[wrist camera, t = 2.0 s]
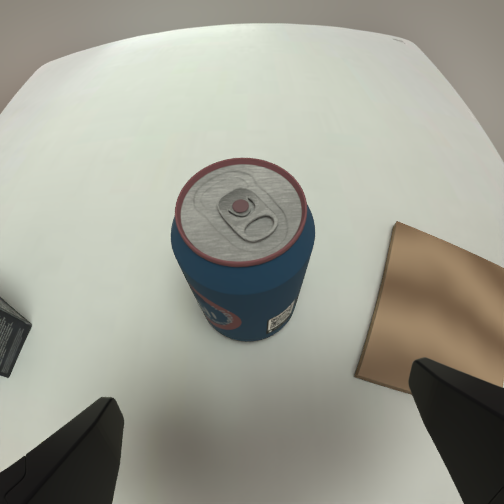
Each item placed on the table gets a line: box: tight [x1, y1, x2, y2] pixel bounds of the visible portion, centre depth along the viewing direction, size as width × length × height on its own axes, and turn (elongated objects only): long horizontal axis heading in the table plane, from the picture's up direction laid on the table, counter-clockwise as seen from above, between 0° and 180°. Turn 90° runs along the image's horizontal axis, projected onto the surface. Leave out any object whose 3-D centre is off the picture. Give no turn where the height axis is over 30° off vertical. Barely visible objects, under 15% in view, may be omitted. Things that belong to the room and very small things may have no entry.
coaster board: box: [354, 221, 504, 394], centre depth 22 cm, size 14×14×1 cm
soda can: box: [171, 158, 315, 341], centre depth 19 cm, size 7×7×12 cm
